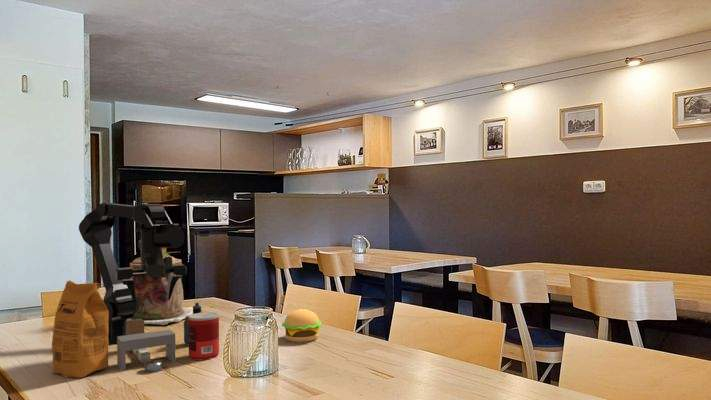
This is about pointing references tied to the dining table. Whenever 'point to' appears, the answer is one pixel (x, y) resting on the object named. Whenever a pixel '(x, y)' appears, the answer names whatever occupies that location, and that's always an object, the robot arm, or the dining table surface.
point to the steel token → (153, 366)
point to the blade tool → (137, 328)
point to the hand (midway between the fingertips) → (152, 301)
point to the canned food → (203, 335)
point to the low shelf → (145, 344)
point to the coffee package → (80, 331)
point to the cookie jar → (158, 296)
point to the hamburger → (301, 326)
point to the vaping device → (186, 330)
